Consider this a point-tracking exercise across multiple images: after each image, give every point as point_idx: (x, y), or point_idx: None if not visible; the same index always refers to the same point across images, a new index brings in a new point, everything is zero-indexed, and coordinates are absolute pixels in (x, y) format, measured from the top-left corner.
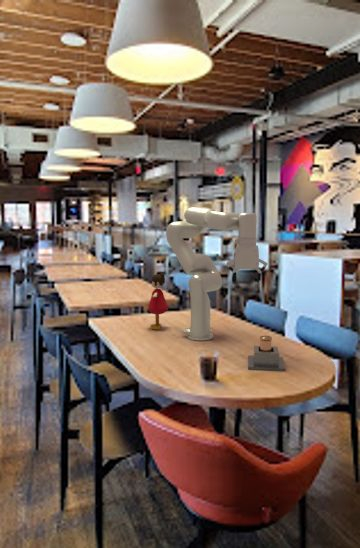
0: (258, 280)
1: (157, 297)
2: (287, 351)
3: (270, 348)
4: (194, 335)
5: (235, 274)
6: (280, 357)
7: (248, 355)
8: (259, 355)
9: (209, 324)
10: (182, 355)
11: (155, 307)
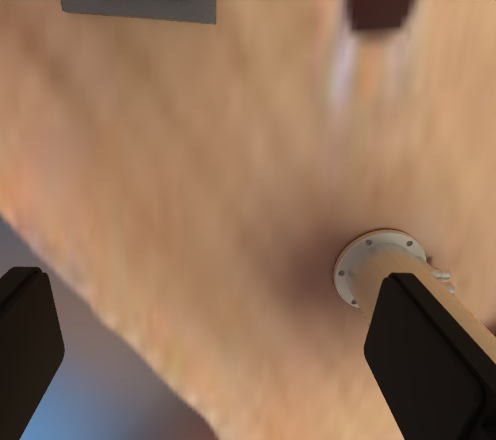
0: (3, 285)
1: None
2: (56, 131)
3: None
4: (408, 251)
5: (481, 368)
6: (71, 2)
7: (213, 23)
8: None
9: (367, 291)
10: (479, 37)
11: None
